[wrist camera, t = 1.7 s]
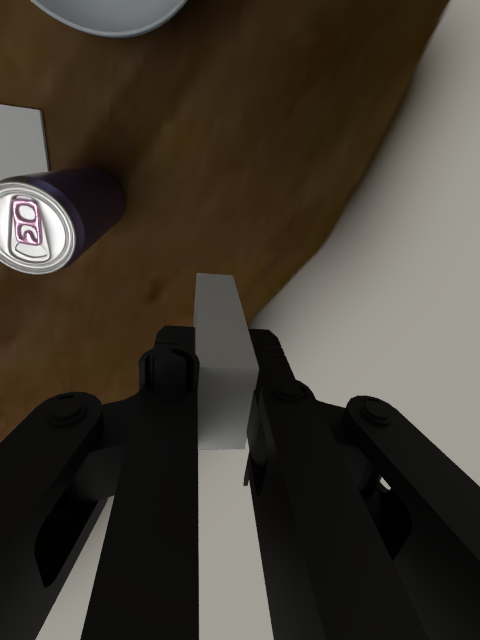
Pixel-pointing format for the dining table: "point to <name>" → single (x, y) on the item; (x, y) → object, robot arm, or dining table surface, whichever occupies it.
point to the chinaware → (112, 15)
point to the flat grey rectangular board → (22, 142)
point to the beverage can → (55, 216)
